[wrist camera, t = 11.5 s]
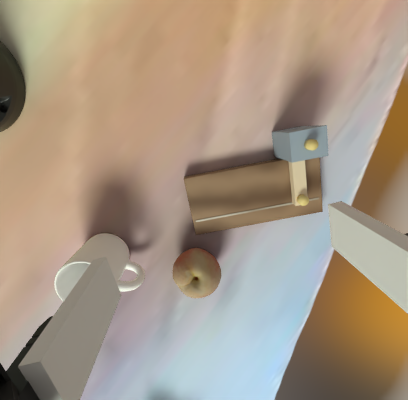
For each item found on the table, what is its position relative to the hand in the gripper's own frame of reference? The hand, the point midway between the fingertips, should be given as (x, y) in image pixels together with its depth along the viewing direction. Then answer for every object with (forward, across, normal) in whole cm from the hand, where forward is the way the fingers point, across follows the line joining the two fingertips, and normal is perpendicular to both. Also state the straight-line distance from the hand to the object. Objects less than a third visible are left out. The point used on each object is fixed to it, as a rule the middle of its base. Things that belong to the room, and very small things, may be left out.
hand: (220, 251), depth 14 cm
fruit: (+28, -5, -17) cm, 34 cm away
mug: (+29, -19, -12) cm, 37 cm away
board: (+28, +8, -6) cm, 30 cm away
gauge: (+28, +15, -3) cm, 32 cm away
